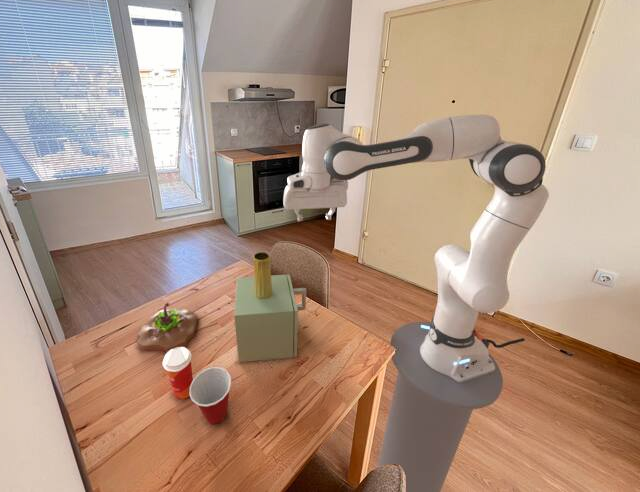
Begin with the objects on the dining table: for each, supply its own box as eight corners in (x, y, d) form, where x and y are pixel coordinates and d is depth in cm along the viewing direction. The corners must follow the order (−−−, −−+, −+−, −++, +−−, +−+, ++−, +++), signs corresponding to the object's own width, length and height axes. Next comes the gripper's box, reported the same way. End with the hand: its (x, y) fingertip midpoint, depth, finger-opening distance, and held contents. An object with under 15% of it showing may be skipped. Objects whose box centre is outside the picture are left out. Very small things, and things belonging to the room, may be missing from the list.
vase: (256, 300, 94) (253, 262, 88) (252, 289, 99) (250, 252, 93) (274, 296, 95) (273, 259, 89) (270, 285, 101) (268, 249, 95)
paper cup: (170, 382, 89) (162, 349, 84) (196, 375, 91) (190, 342, 86) (169, 406, 82) (161, 371, 77) (197, 398, 84) (191, 364, 79)
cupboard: (286, 316, 115) (286, 274, 107) (293, 357, 97) (293, 311, 89) (240, 319, 113) (236, 277, 105) (238, 362, 96) (234, 315, 88)
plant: (204, 314, 117) (201, 291, 112) (185, 354, 99) (180, 328, 94) (157, 310, 119) (151, 288, 114) (129, 349, 101) (122, 324, 96)
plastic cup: (192, 404, 83) (185, 374, 78) (229, 389, 87) (225, 360, 82) (198, 442, 74) (192, 411, 69) (239, 424, 78) (236, 394, 73)
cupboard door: (304, 314, 116) (305, 273, 108) (314, 355, 98) (316, 309, 90) (287, 315, 115) (287, 274, 107) (294, 356, 97) (294, 311, 89)
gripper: (345, 175, 94) (342, 214, 100) (282, 177, 92) (282, 217, 98) (351, 180, 88) (348, 222, 94) (284, 183, 87) (284, 225, 92)
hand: (314, 220), depth 96 cm, fingers open, 8 cm apart
